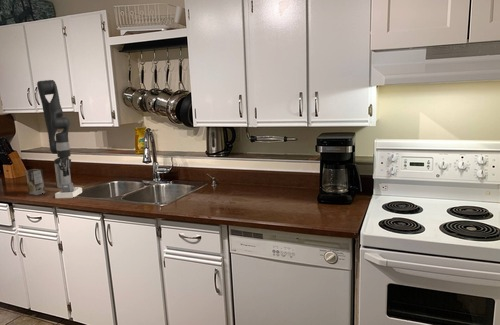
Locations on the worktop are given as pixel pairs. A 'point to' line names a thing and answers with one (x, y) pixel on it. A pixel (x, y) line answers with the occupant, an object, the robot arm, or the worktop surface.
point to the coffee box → (35, 181)
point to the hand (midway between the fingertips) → (66, 175)
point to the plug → (67, 187)
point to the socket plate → (69, 195)
